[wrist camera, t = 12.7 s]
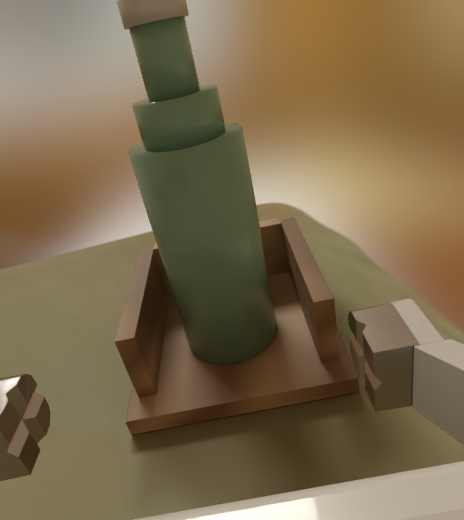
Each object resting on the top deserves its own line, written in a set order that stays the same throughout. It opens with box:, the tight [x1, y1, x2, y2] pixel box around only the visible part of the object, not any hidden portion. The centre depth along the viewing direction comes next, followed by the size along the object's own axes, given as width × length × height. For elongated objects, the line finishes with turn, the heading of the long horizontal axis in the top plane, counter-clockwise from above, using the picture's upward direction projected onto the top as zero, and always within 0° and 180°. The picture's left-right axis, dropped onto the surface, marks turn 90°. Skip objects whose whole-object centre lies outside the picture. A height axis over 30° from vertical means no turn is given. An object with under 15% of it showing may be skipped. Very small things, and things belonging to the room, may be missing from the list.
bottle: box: [117, 0, 278, 364], centre depth 22 cm, size 6×6×18 cm
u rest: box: [115, 218, 359, 435], centre depth 26 cm, size 12×12×5 cm
